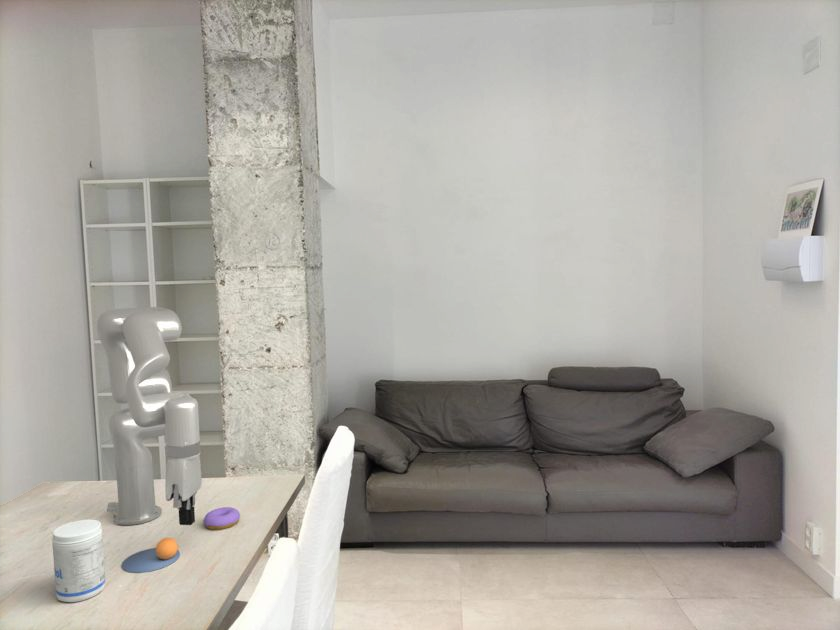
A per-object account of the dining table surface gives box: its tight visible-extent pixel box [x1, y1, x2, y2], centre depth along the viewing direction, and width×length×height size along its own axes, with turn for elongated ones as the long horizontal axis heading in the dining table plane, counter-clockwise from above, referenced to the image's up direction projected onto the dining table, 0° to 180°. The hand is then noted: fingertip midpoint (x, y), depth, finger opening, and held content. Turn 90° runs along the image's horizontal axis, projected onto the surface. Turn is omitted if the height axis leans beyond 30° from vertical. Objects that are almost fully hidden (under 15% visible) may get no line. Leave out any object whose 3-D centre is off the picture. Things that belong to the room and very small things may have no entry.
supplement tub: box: [51, 519, 106, 603], centre depth 136 cm, size 10×10×15 cm
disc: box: [121, 547, 181, 574], centre depth 151 cm, size 13×13×1 cm
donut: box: [203, 506, 241, 531], centre depth 172 cm, size 10×9×5 cm
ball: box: [155, 537, 179, 560], centre depth 151 cm, size 5×5×5 cm
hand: (187, 523), depth 150 cm, fingers closed
